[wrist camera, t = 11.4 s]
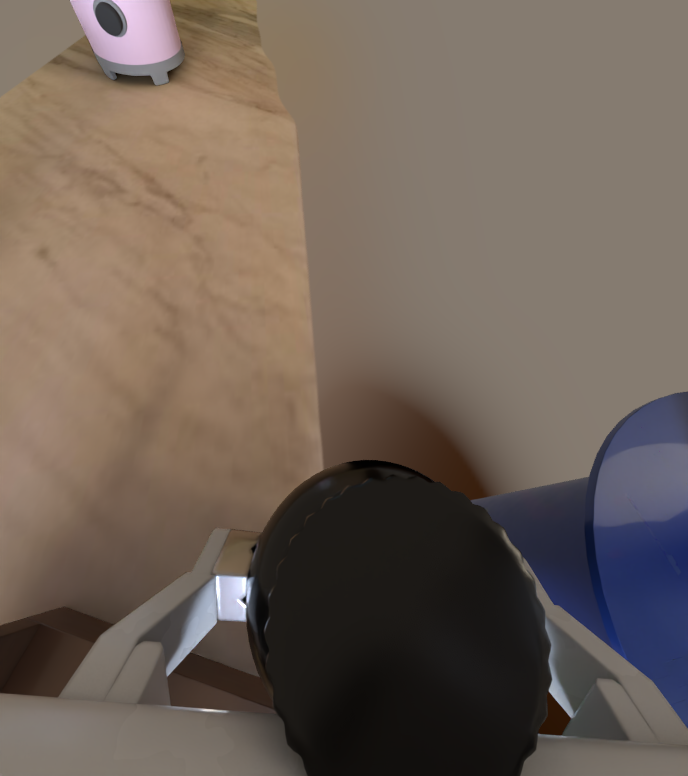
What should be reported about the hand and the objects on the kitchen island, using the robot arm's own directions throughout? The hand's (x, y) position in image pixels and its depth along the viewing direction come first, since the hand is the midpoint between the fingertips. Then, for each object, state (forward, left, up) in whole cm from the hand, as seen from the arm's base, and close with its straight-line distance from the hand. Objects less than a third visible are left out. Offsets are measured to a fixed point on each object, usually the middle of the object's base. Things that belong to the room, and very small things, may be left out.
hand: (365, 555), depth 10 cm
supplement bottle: (0, +1, -7) cm, 7 cm away
